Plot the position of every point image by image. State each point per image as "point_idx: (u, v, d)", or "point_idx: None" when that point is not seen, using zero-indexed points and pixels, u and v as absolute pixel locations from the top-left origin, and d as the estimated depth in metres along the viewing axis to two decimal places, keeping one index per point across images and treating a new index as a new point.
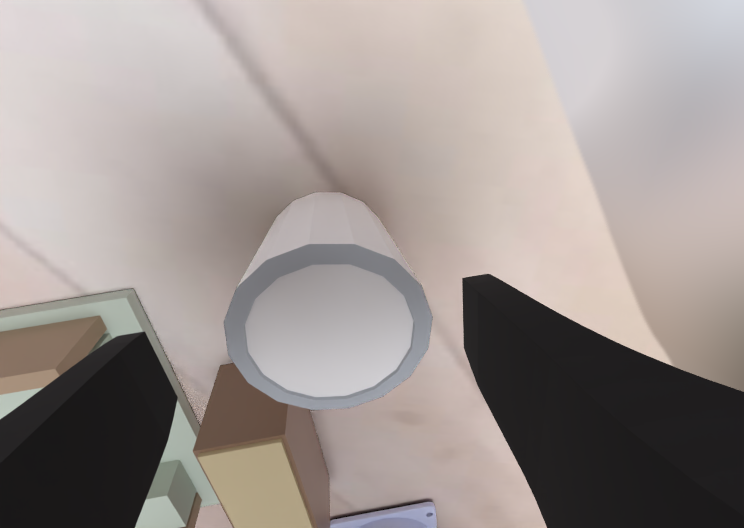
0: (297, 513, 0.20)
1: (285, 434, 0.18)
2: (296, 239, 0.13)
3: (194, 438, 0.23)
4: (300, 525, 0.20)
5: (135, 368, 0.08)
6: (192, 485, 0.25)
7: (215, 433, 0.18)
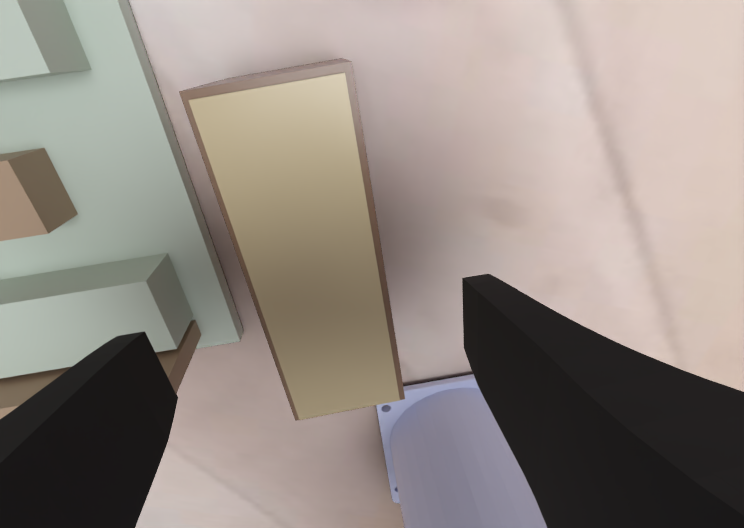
0: (362, 272, 0.12)
1: (351, 66, 0.09)
2: None
3: (190, 211, 0.15)
4: (366, 301, 0.12)
5: (136, 368, 0.08)
6: (187, 304, 0.17)
7: (221, 83, 0.10)
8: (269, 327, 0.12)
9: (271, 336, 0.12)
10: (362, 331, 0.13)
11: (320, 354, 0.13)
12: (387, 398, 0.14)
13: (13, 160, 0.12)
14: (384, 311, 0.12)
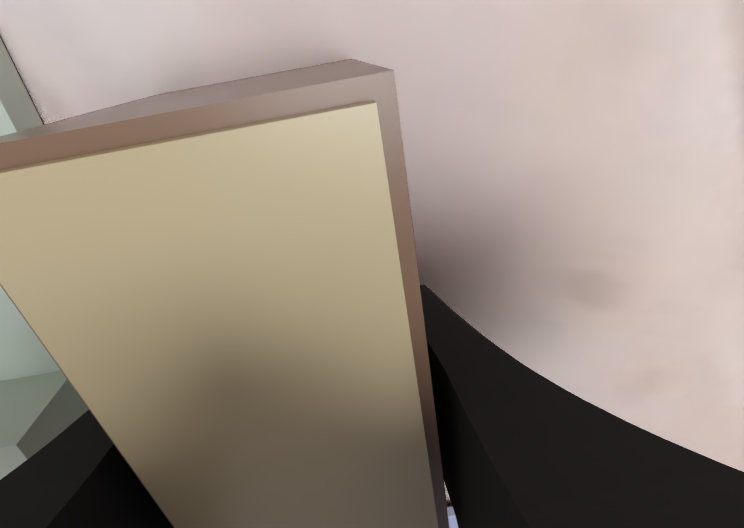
0: (402, 493, 0.06)
1: (392, 82, 0.03)
2: None
3: None
4: None
5: None
6: None
7: (61, 126, 0.04)
8: None
9: None
10: None
11: None
12: None
13: None
14: None
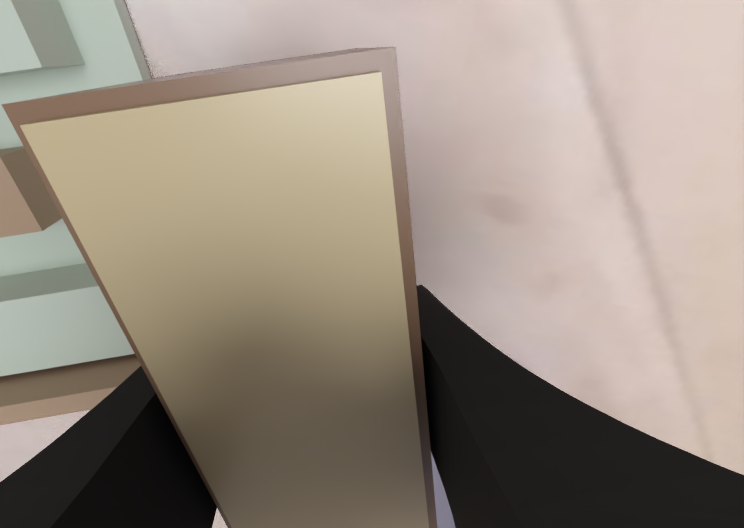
0: (391, 426, 0.07)
1: (394, 57, 0.04)
2: None
3: None
4: (393, 467, 0.07)
5: None
6: None
7: (116, 86, 0.05)
8: (225, 506, 0.07)
9: (229, 518, 0.07)
10: (384, 505, 0.08)
11: None
12: None
13: (5, 157, 0.12)
14: (423, 478, 0.07)
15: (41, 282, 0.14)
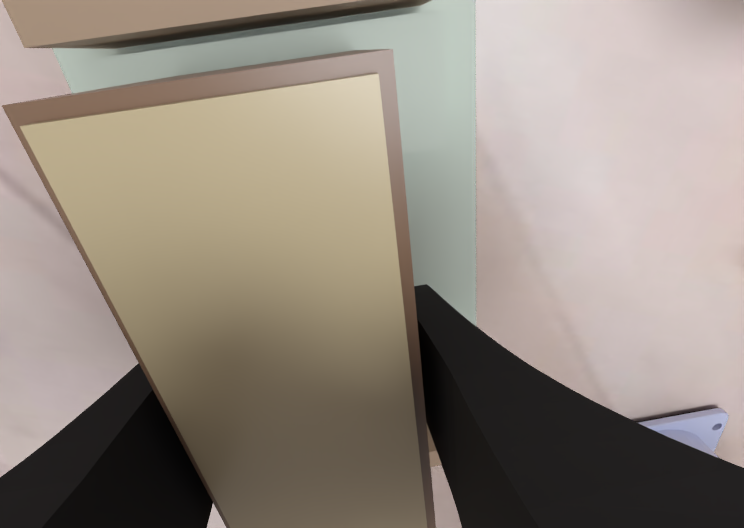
0: (389, 427, 0.07)
1: (391, 59, 0.04)
2: None
3: (472, 267, 0.15)
4: (391, 467, 0.07)
5: None
6: None
7: (115, 87, 0.05)
8: (224, 506, 0.07)
9: (227, 518, 0.07)
10: (382, 506, 0.08)
11: None
12: None
13: None
14: (421, 478, 0.07)
15: None
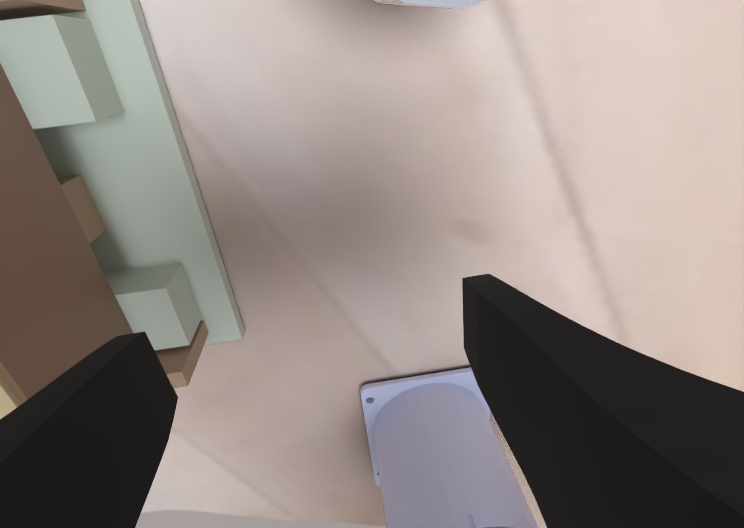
0: None
1: None
2: None
3: (202, 228, 0.18)
4: None
5: (136, 368, 0.08)
6: (197, 306, 0.19)
7: None
8: None
9: None
10: None
11: None
12: None
13: None
14: None
15: None
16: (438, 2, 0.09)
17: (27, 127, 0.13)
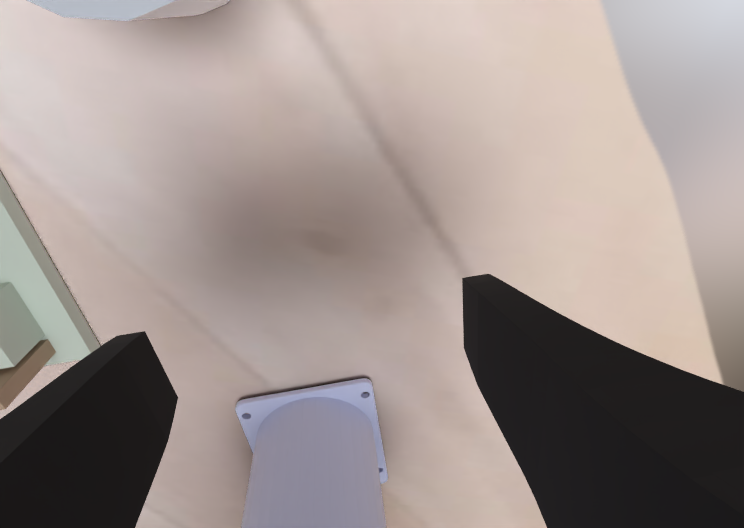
0: None
1: None
2: None
3: (24, 246, 0.17)
4: None
5: (135, 368, 0.08)
6: (36, 325, 0.19)
7: None
8: None
9: None
10: None
11: None
12: None
13: None
14: None
15: None
16: (98, 14, 0.09)
17: None
